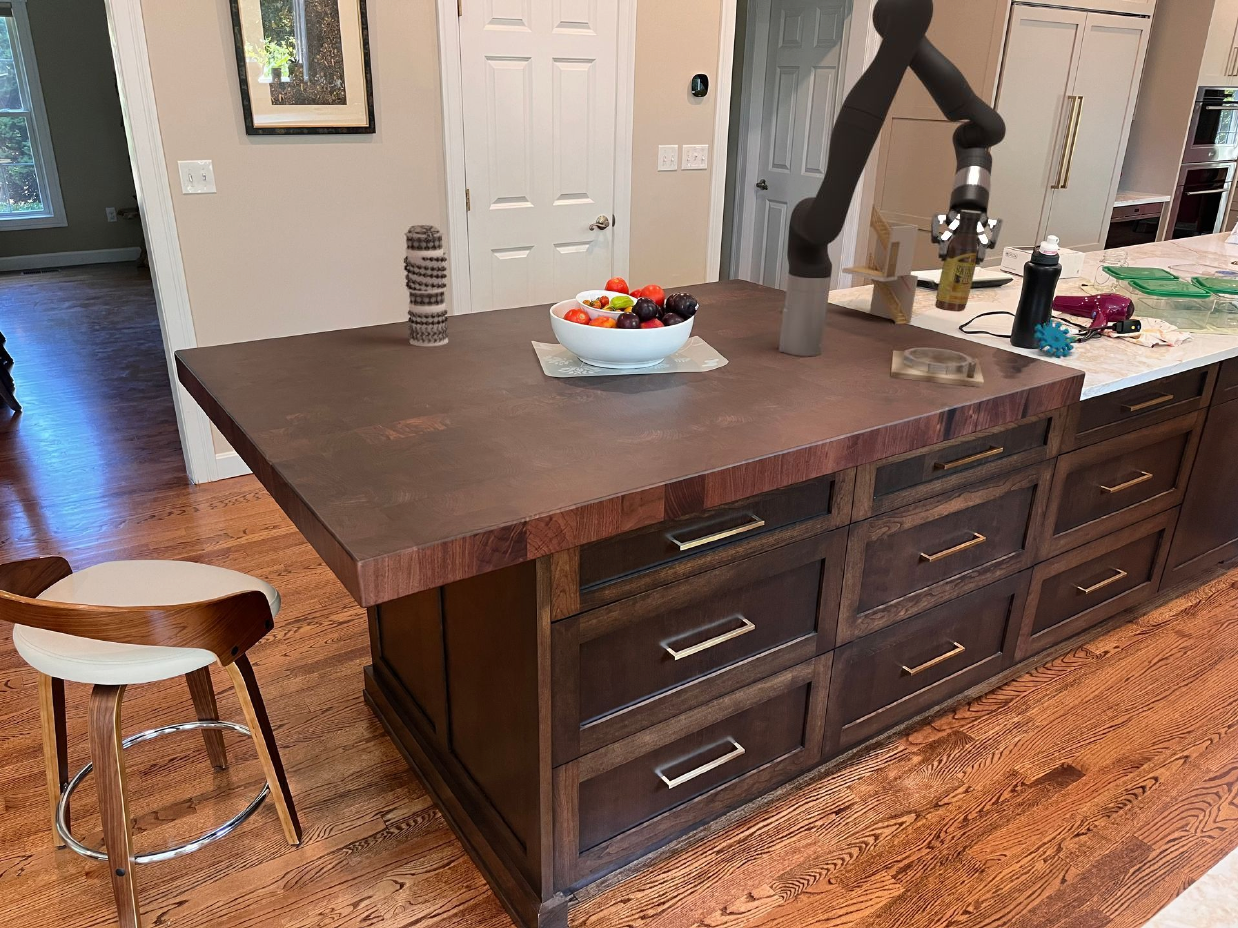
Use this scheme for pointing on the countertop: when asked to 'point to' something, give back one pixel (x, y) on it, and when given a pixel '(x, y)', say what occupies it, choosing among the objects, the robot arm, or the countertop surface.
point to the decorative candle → (426, 286)
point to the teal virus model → (1054, 338)
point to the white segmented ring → (936, 368)
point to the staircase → (891, 269)
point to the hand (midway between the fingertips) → (960, 260)
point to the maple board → (907, 373)
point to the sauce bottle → (959, 264)
